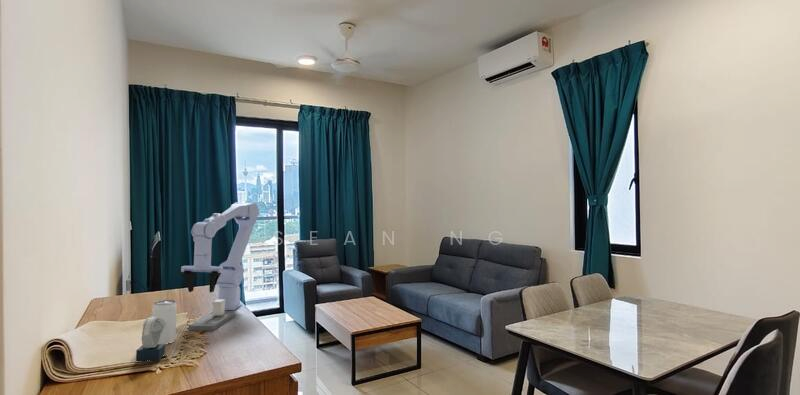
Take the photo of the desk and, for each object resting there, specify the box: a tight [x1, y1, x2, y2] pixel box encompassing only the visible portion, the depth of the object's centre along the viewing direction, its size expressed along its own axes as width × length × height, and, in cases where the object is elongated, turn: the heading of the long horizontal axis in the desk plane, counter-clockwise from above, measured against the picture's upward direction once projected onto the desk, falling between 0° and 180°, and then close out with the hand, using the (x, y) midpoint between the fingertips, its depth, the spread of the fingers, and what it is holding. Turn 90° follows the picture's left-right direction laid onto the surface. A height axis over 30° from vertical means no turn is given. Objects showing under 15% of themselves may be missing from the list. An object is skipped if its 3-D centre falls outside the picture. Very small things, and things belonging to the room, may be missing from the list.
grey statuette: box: [135, 316, 166, 362], centre depth 110 cm, size 6×8×11 cm
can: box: [151, 299, 178, 344], centre depth 123 cm, size 6×6×12 cm
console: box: [188, 311, 235, 332], centre depth 144 cm, size 18×8×2 cm, turn 1°
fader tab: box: [212, 298, 226, 316], centre depth 149 cm, size 4×3×5 cm
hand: (201, 291), depth 151 cm, fingers open, 7 cm apart
